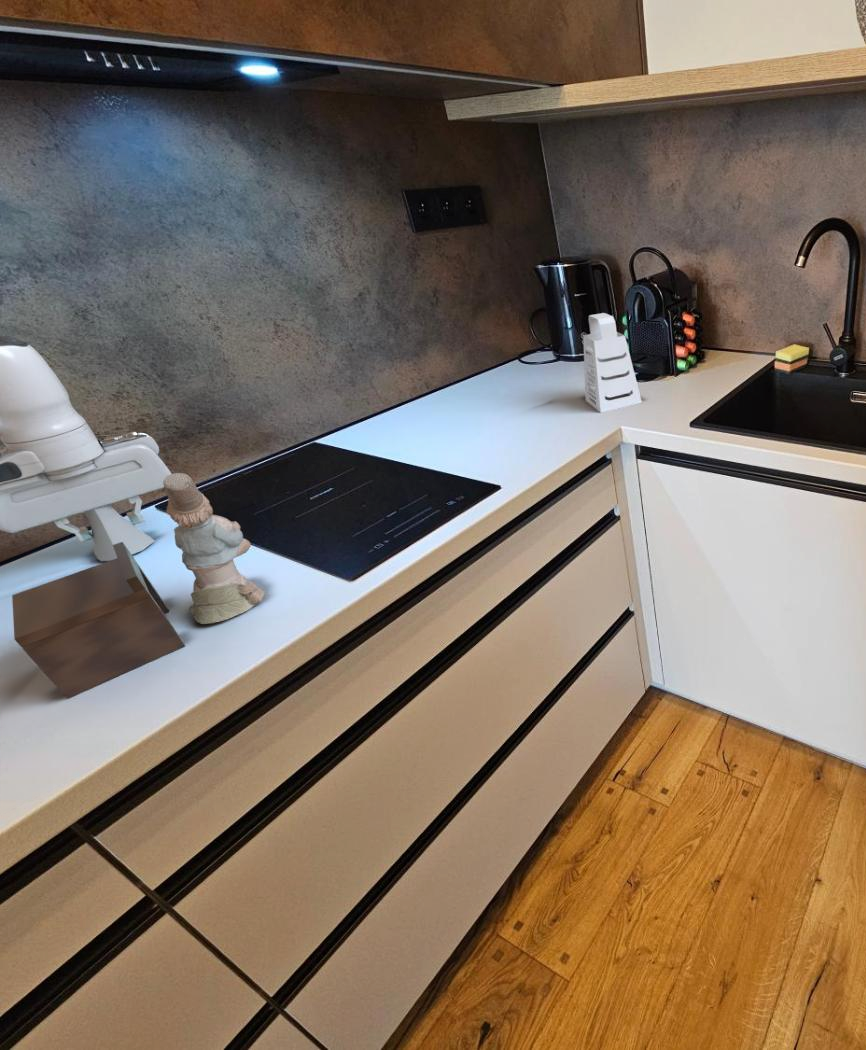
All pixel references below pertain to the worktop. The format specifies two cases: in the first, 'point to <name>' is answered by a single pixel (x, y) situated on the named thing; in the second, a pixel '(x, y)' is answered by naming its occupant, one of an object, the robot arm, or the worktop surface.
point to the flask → (114, 533)
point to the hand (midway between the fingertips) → (113, 530)
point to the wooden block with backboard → (94, 624)
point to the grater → (608, 366)
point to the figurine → (209, 553)
